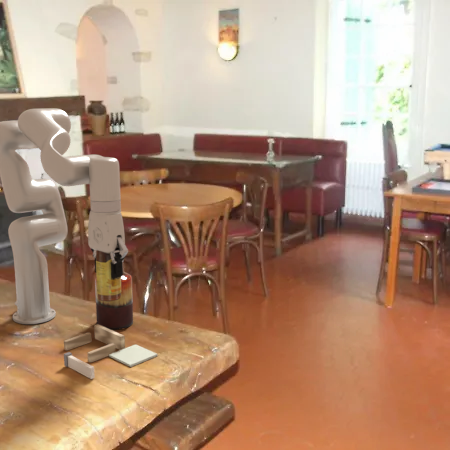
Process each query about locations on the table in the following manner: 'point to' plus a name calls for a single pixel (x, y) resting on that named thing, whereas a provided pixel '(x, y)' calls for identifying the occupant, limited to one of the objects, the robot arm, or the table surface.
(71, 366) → the bar
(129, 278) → the vase
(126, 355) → the tile
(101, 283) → the sauce bottle
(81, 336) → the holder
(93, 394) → the table surface
